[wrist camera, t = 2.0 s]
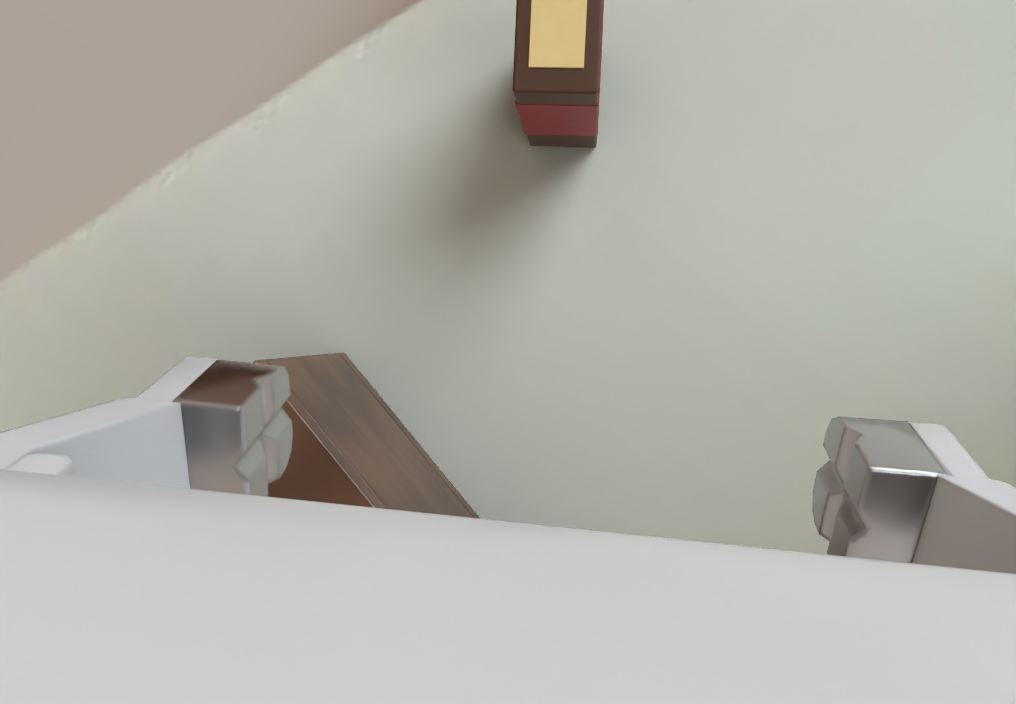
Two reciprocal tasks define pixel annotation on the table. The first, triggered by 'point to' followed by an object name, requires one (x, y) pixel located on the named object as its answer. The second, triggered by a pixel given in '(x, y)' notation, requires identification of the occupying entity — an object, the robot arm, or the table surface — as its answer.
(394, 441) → the cabinet
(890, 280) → the table surface
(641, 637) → the robot arm
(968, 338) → the table surface
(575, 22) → the chocolate bar
